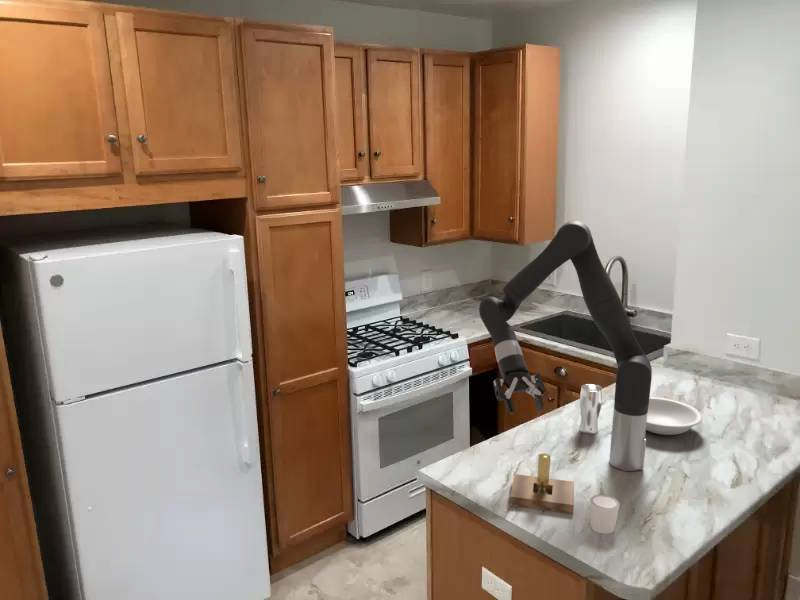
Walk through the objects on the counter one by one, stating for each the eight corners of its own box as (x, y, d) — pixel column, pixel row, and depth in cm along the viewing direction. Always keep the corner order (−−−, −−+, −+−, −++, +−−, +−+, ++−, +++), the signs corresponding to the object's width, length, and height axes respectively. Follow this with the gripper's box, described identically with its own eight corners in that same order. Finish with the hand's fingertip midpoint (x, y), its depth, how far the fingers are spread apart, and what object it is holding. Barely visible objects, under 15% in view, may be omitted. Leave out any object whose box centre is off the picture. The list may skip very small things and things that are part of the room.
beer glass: (576, 432, 207) (579, 389, 204) (579, 424, 214) (582, 382, 210) (598, 436, 205) (602, 392, 201) (600, 427, 211) (604, 385, 208)
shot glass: (584, 519, 159) (586, 494, 158) (610, 518, 160) (612, 493, 158) (594, 536, 153) (596, 510, 151) (622, 534, 153) (624, 508, 152)
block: (573, 489, 173) (573, 481, 172) (573, 513, 162) (573, 505, 161) (513, 482, 177) (514, 473, 176) (509, 505, 166) (510, 496, 165)
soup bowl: (685, 415, 221) (687, 398, 219) (711, 447, 197) (714, 428, 196) (614, 412, 223) (616, 395, 221) (632, 444, 200) (633, 424, 198)
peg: (548, 495, 170) (550, 454, 168) (547, 500, 168) (550, 459, 165) (536, 493, 171) (538, 452, 168) (536, 499, 168) (538, 458, 165)
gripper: (491, 355, 178) (507, 409, 170) (537, 350, 182) (555, 403, 174) (483, 367, 184) (498, 419, 176) (528, 362, 188) (544, 413, 180)
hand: (526, 411), depth 175 cm, fingers open, 8 cm apart
